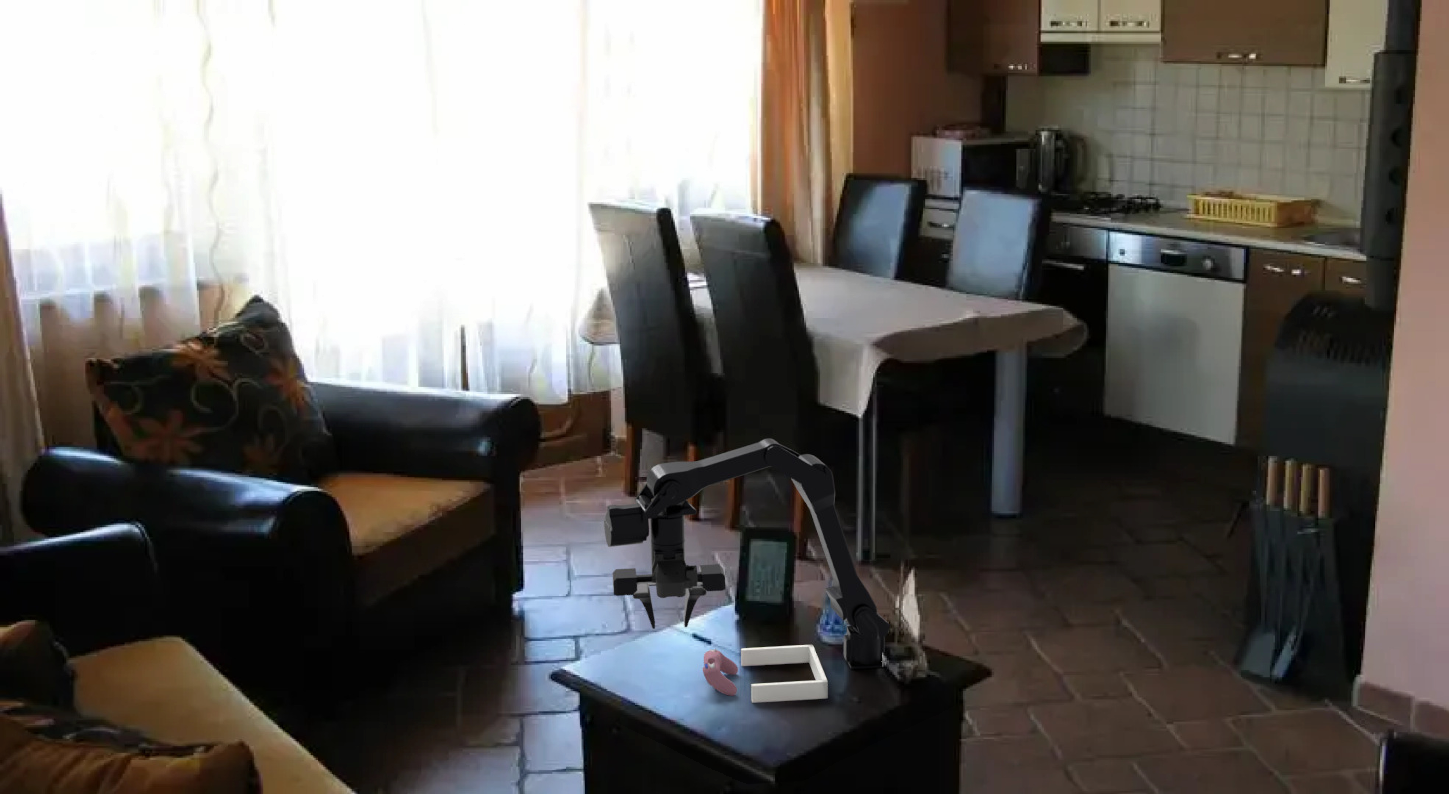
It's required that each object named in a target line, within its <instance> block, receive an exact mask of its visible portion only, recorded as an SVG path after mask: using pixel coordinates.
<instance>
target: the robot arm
mask: <svg viewBox="0 0 1449 794" xmlns="http://www.w3.org/2000/svg"><path fill="white" fill-rule="evenodd" d="M770 467H771V468H774V469H775V470H778V472H781V473H783V474H784V475H786V476H787V477H789V478H790V479H791V481H792V483H793V484H794V487H795V488H796V490H797V491H798V493H799V494H800V496H801V498H802V499H803V501H804V502H805V503H806V504H805V505H807V507H808V510H809V511H810V514H811V516H812V519H813V523H814V526H815V529H816V531H817V534H818V535H817V536H818V538H819V540H820V544H821V547H822V550H823V552H824V556H825V558H826V561H827V564H828V567H829V571H830V574H831V576H832V583H831V586H830V587H826V588H825V591H826V594H827V595H828V597H829V601H830V608H831V609H832V610H833V611H834V612H835V613H836V614H837V615H838V617H839V618H840V619H841V620H842V621H845V622H846V623H847V624H848V626H846V634H844V635H843V657H844V660H845V662H847V664H848V666H849V668H850V669H851V670H852V669H853V670H856V669H858V670H859V669H874V668H883V667H882V662H881V661H882V652H885V648H886V645H885V644H886V642H885V641H886V640H885V639H886V637H888V633H889V631H890V628H891V625H890V624H889V623H888V621H886V620H885V618H883V617H882V615H880V614H879V612H878V607H877V605H876V603H875V602H874V600H873V598H872V596H871V595H870V593H869V591H868V589H867V588H866V586H865V585H864V583H863V582H862V580H861V579H860V577H859V575H858V573H857V570H856V566H855V564H854V560H853V558H852V554H851V552H850V548H849V546H848V542H847V540H846V536H845V535H844V530H843V528H842V524H841V522H840V519H839V515H838V512H837V510H836V506H835V498H836V489H835V488H836V487H835V481H834V480H835V479H834V476H833V475H834V474H833V472H832V470H831V469H830V467H828V465H826V464H825V463H824V462H822V461H821V460H820V459H819V458H818V457H817V456H815V455H812V454H809V453H805V454H800V453H798V452H796V451H794V450H792V449H790V448H788V447H786V446H784V445H782V444H780V443H779V442H778V441H776V440H775V439H773V438H764V439H762V440H760V441H758V442H755V443H752V444H749V445H746V446H743V447H740V448H736V449H733V450H732V449H731V450H729V451H726V452H723V453H720V454H717V455H714V456H710V457H707V458H704V459H700V460H697V461H672V462H664V463H659V464H657V465H653V467H651V468H650V471H649V472H648V474H647V476H646V483H645V484H644V486H643V487H642V488H641V490H640V491H639V493H638V495H637V496H636V497H635V498H634V502H635V503H631V504H630V503H629V504H621V505H619V504H609V505H607V506H606V510H607V512H606V513H605V520H604V522H603V526H604V527H603V528H604V535H605V536H604V537H605V540H606V545H607V546H608V547H609V548H612V547H621V546H632V545H641V544H643V543H644V541H645V542H647V541H648V540H647V538H649V536H650V562H651V565H650V566H651V567H650V568H651V574H647V573H646V574H637V571H636V568H634V567H633V568H615V570H613V572H612V589H613V595H614V596H617V597H619V596H621V597H622V596H632V598H633V599H635V600H639V601H640V602H641V603H642V606H643V607H644V609H645V612H646V614H647V617H648V620H649V622H650V625H651V627H652V630H654V629H656V619H655V618H656V617H655V615H654V614H655V613H654V608H653V601H652V595H651V590H650V587H654V586H655V589H656V595H657V597H658V598H661V599H666V598H671V597H673V598H675V597H677V598H683V597H684V598H685V599H684V608H683V609H684V612H683V626H684V628H687V627H688V625H689V623H690V619H691V616H692V613H693V610H694V608H695V605H696V604H697V602H698V600H699V598H701V597H702V596H703V597H704V596H706V595H707V592H721V591H725V590H726V575H725V571H724V567H722V566H721V564H699V568H698V567H697V565H689V564H687V563H686V533H685V532H686V528H685V527H686V525H685V523H686V522H685V519H686V518H685V516H692V515H696V514H697V512H698V511H697V509H696V508H695V507H694V506H693V504H691V503H690V502H689V501H688V500H690V499H691V498H693V497H694V496H696V495H697V494H698V493H699V492H701V491H702V490H703V489H706V488H707V487H710V486H712V485H713V486H714V485H717V484H719V483H723V482H726V481H729V480H733V479H735V478H738V477H741V476H742V477H743V476H744V475H748V474H751V473H754V472H757V471H761V470H763V469H767V468H770ZM649 521H650V522H649ZM698 570H699V571H698Z"/></svg>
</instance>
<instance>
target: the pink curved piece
mask: <svg viewBox="0 0 1449 794" xmlns="http://www.w3.org/2000/svg"><path fill="white" fill-rule="evenodd" d="M703 655H704V656H703V667H702V673H703V676H704V678H705V681H706V682H707V684H708V685H709V686H712V688H714V689H715V690H717V691H718V692H719V693H722V694H723V695H726V696H731V697H733V696H735V695H736V694H737V693H738V688H737V686H736V685H735V684H734V682H733V681H731V680H730V679H728V678H727V677H726V676H725V675H731V676H735V675H737V673H738V672H739V668H738V665H737V664H736V663H735V662H734V661H733V660H731V659H730V658H729V657H727V656H725V655H724V654H723V652H721V651H720V650H719V649H718V650H717V648H716V647H715V648H714V650H713V649H709V650H708V651H705V652H704V654H703ZM724 674H725V675H724Z"/></svg>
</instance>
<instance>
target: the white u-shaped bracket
mask: <svg viewBox="0 0 1449 794" xmlns="http://www.w3.org/2000/svg"><path fill="white" fill-rule="evenodd" d="M740 660H741V661H740V665H741V667H750V666H765V665H769V666H770V665H785V664H803V663H804V664H805V663H806V664H807V663H809V667H810V669H811V671H812V674H813V676H814V679H815V680H799V681H783V682H782V681H781V682H765V683H751V684H750V686H751V687H750V688H751V689H750V691H751V693H750V694H751V703H752V704H753V703H756V704H757V703H767V702H768V703H771V702H772V703H773V702H785V701H787V702H788V701H805V700H806V701H807V700H818V699H819V700H820V699H822V700H823V699H828V697H829V696H828V695H829V691H828V690H829V689H828V687H829V686H828V684H829V682H828V679H827V677H826V674H825V671H824V669H823V666H822V664H821V661H820V659H819V657H818V654H817V653H816V649H815V647H814V645H813V644H803V645H802V644H800V645H781V646H780V645H779V646H764V647H747V648H746V647H744V648H743V647H742V648H741V649H740Z"/></svg>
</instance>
